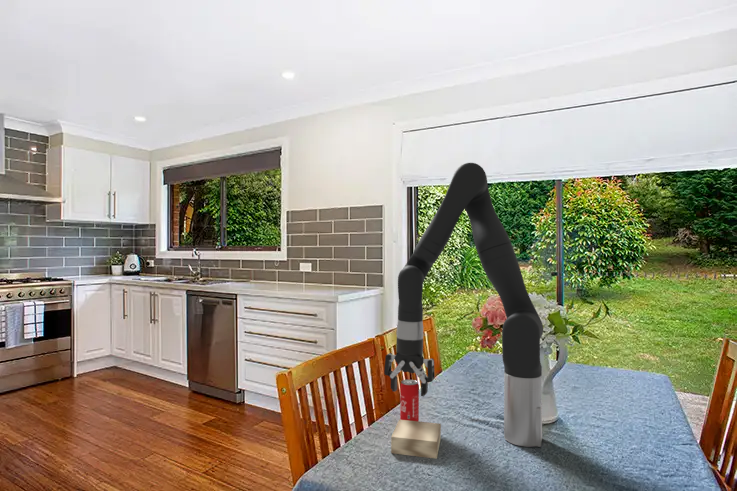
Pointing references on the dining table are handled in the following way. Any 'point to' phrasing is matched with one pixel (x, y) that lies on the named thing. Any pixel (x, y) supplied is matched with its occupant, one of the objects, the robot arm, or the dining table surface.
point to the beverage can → (409, 400)
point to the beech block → (416, 438)
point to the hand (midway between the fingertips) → (408, 393)
